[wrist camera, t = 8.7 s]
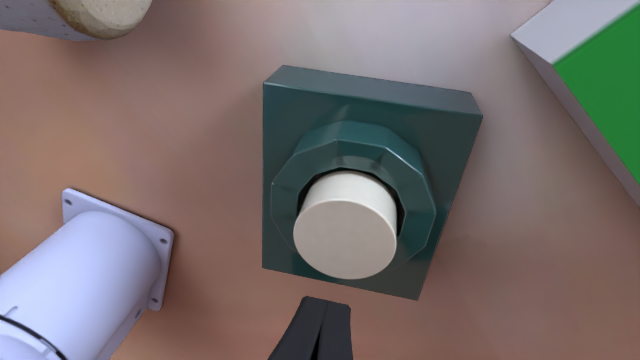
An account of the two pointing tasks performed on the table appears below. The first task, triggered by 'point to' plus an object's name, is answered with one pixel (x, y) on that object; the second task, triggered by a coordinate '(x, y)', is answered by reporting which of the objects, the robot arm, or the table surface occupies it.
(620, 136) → the tray
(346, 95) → the dark green button base
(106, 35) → the ceramic mug
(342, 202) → the white push button
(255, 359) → the table surface
